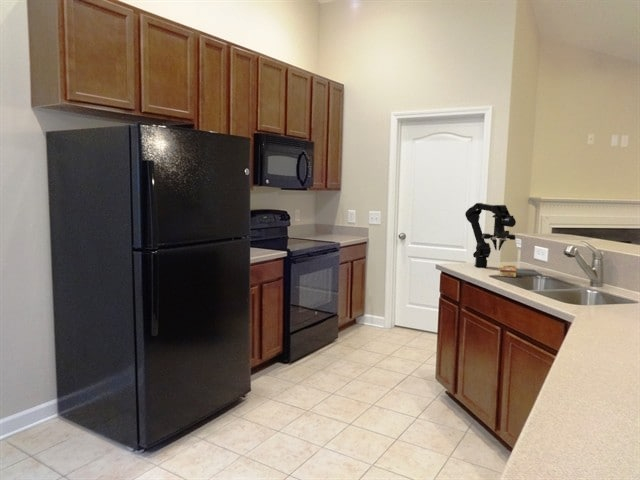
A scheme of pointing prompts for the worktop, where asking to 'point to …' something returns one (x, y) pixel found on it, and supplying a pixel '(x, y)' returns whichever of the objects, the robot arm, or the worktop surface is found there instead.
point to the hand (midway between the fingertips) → (497, 250)
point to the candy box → (508, 271)
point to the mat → (527, 272)
